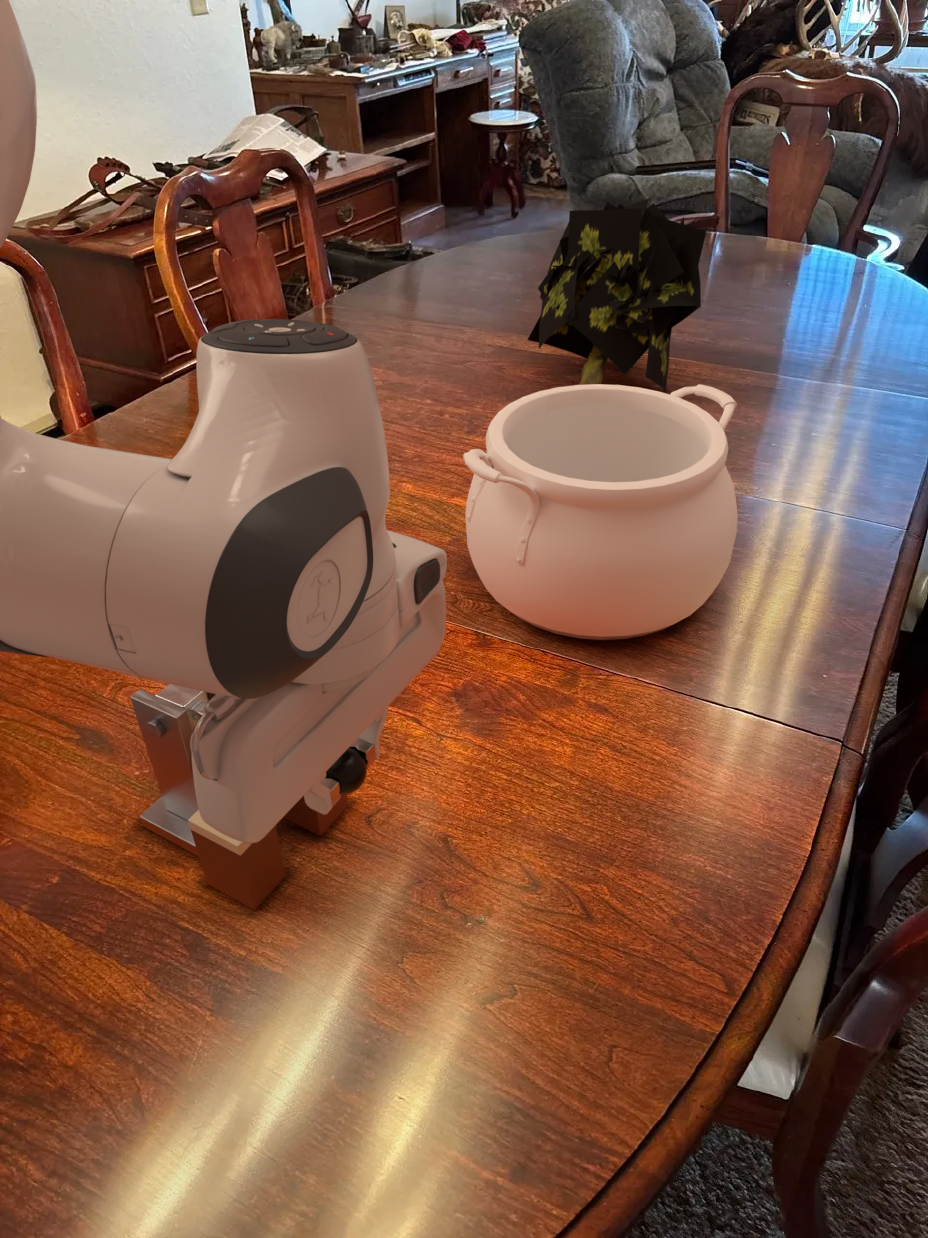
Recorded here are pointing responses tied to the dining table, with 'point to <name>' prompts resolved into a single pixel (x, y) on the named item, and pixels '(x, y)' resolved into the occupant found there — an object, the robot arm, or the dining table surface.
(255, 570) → the robot arm
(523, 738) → the dining table surface
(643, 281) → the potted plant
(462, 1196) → the dining table surface
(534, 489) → the pot
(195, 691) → the black ball knob lever
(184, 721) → the bracket
